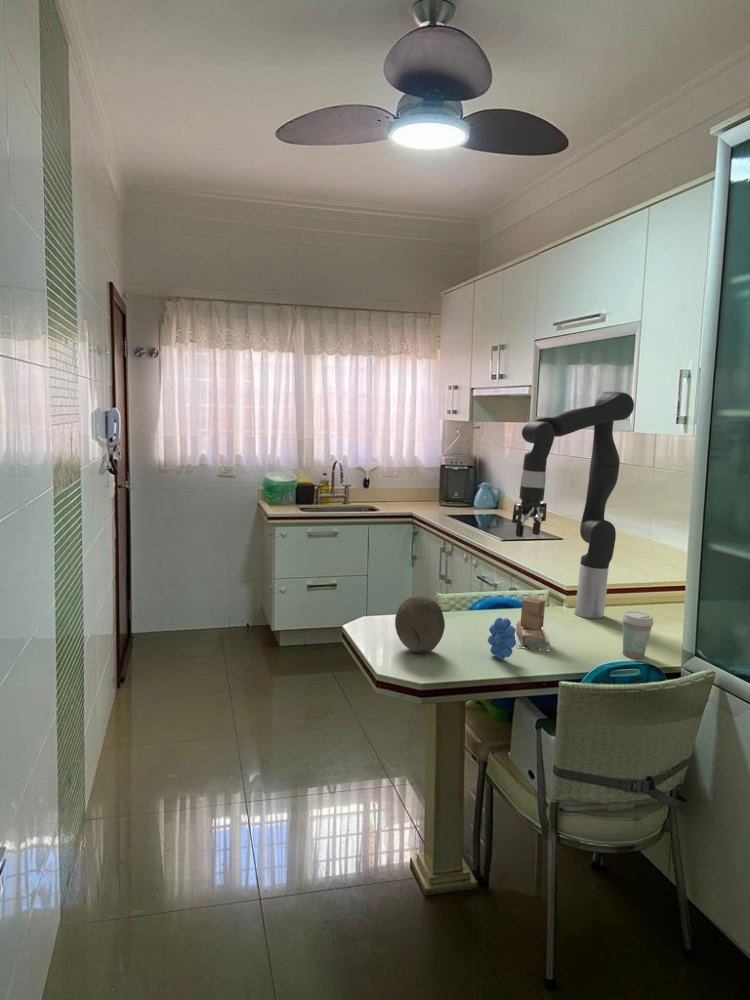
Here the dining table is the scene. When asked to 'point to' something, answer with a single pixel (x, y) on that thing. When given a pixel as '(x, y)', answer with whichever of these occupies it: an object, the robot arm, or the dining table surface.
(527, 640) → the packaged product
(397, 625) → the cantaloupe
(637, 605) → the dining table surface
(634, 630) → the coffee cup
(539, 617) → the walnut block
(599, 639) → the dining table surface
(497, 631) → the grapes
